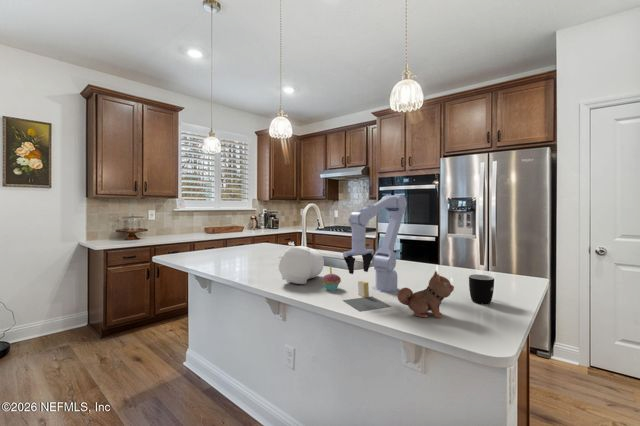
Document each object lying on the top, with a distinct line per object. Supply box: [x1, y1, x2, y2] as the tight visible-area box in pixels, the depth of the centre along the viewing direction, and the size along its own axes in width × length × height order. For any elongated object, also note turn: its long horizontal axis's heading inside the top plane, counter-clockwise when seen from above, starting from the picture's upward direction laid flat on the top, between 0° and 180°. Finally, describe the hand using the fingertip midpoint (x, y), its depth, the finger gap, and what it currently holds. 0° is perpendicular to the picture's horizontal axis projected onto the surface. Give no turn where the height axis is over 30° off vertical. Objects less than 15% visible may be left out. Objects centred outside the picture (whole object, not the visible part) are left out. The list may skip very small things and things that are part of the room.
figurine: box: [397, 270, 455, 319], centre depth 112 cm, size 10×19×15 cm, turn 80°
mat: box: [341, 296, 392, 312], centre depth 122 cm, size 14×14×1 cm
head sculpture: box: [278, 241, 325, 285], centre depth 161 cm, size 19×20×28 cm
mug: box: [468, 273, 495, 305], centre depth 126 cm, size 12×9×10 cm
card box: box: [357, 280, 370, 298], centre depth 132 cm, size 2×5×6 cm, turn 22°
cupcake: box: [321, 264, 342, 291], centre depth 143 cm, size 9×8×12 cm
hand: (358, 272), depth 132 cm, fingers open, 7 cm apart
